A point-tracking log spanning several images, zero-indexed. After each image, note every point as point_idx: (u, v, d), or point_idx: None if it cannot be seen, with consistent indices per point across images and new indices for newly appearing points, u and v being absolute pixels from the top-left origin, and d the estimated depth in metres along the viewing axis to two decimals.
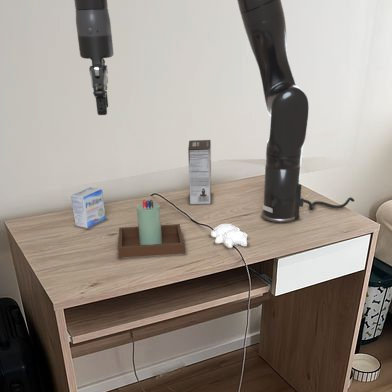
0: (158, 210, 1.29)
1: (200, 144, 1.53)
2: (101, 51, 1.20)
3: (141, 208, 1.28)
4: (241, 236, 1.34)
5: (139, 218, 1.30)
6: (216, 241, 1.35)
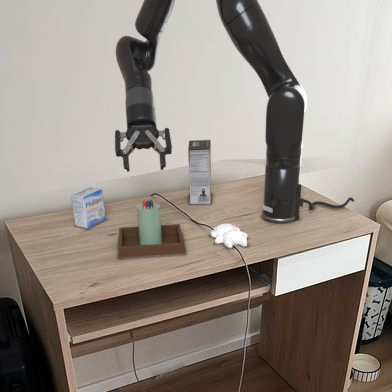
0: (158, 210, 1.29)
1: (200, 144, 1.53)
2: (127, 120, 1.37)
3: (141, 208, 1.28)
4: (241, 236, 1.34)
5: (139, 218, 1.30)
6: (216, 241, 1.35)
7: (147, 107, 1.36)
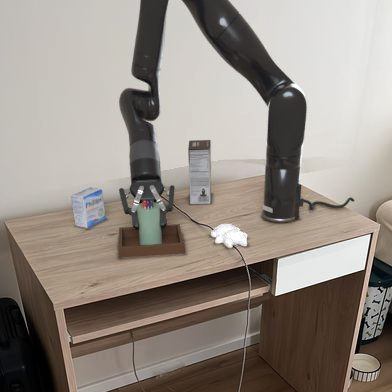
0: (158, 210, 1.29)
1: (200, 144, 1.53)
2: (131, 174, 1.32)
3: (141, 208, 1.28)
4: (241, 236, 1.34)
5: (139, 218, 1.30)
6: (216, 241, 1.35)
7: (152, 162, 1.31)
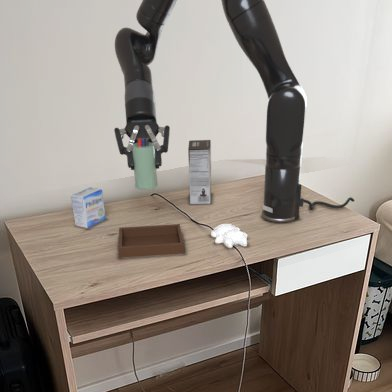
0: (153, 149, 1.30)
1: (200, 144, 1.53)
2: (126, 114, 1.33)
3: (136, 146, 1.29)
4: (241, 236, 1.34)
5: (134, 157, 1.30)
6: (216, 241, 1.35)
7: (147, 101, 1.32)
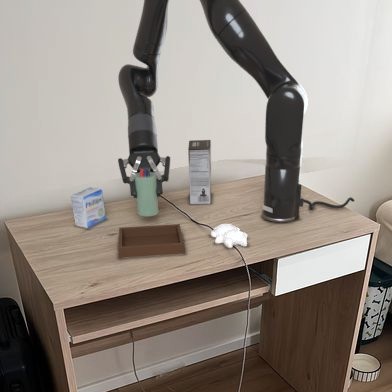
0: (154, 179, 1.38)
1: (200, 144, 1.53)
2: (129, 146, 1.41)
3: (139, 176, 1.37)
4: (241, 236, 1.34)
5: (137, 186, 1.38)
6: (216, 241, 1.35)
7: (149, 134, 1.40)
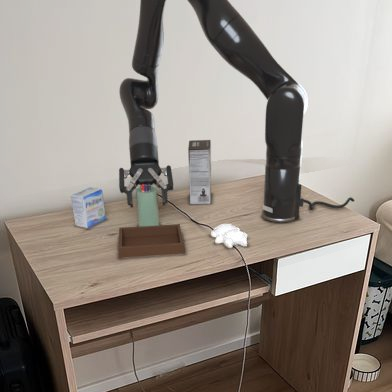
0: (155, 193, 1.40)
1: (200, 144, 1.53)
2: (131, 158, 1.43)
3: (140, 191, 1.39)
4: (241, 236, 1.34)
5: (138, 201, 1.41)
6: (216, 241, 1.35)
7: (150, 146, 1.42)
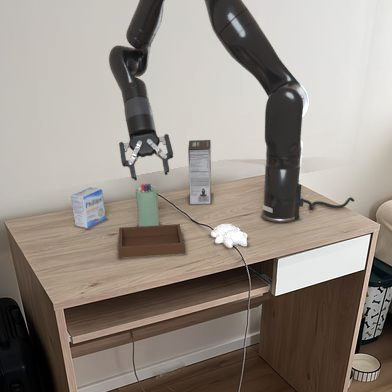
0: (155, 193, 1.40)
1: (200, 144, 1.53)
2: (129, 131, 1.47)
3: (140, 191, 1.39)
4: (241, 236, 1.34)
5: (138, 201, 1.41)
6: (216, 241, 1.35)
7: (146, 117, 1.45)
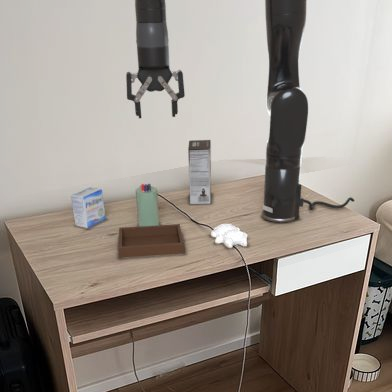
0: (155, 193, 1.40)
1: (200, 144, 1.53)
2: (139, 61, 1.29)
3: (140, 191, 1.39)
4: (241, 236, 1.34)
5: (138, 201, 1.41)
6: (216, 241, 1.35)
7: (161, 51, 1.26)
